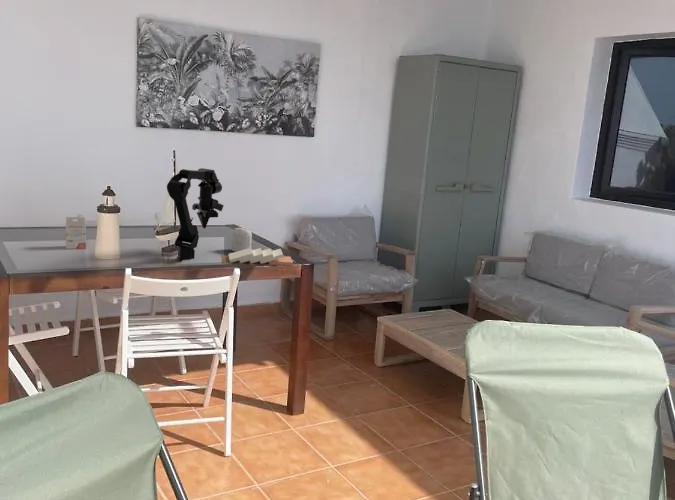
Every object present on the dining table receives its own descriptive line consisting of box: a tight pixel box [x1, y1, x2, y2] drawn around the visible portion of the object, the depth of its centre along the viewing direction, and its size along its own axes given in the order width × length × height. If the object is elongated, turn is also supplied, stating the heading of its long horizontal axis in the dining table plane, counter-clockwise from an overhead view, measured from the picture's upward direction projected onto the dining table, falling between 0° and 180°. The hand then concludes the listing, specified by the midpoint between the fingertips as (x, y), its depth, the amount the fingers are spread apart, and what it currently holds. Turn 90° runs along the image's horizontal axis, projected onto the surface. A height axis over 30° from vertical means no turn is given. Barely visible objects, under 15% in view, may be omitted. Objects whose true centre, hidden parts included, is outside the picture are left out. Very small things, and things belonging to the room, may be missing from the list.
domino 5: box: [268, 255, 294, 266], centre depth 322 cm, size 2×10×11 cm
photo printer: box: [231, 227, 253, 252], centre depth 332 cm, size 10×4×12 cm, turn 56°
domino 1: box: [228, 247, 254, 263], centre depth 318 cm, size 2×10×11 cm
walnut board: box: [221, 255, 276, 267], centre depth 319 cm, size 24×14×1 cm, turn 102°
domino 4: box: [260, 248, 284, 264], centre depth 321 cm, size 2×10×11 cm
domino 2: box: [239, 247, 264, 263], centre depth 319 cm, size 2×10×11 cm
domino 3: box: [250, 248, 274, 264], centre depth 320 cm, size 2×10×11 cm
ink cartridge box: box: [65, 216, 87, 250], centre depth 313 cm, size 9×5×15 cm, turn 112°
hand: (204, 228), depth 325 cm, fingers closed
